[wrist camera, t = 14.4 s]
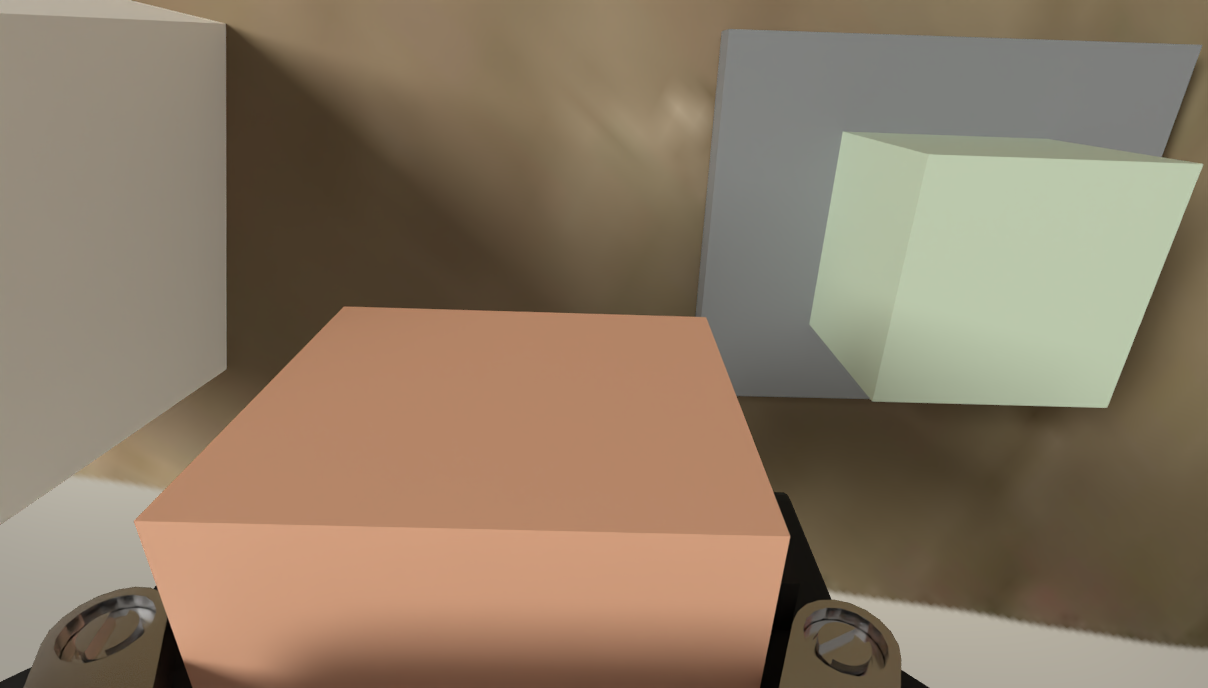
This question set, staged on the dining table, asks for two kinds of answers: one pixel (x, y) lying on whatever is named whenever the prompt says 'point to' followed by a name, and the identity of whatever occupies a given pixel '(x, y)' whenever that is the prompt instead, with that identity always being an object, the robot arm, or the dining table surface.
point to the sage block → (992, 265)
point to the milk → (105, 228)
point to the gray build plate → (879, 105)
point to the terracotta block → (478, 512)
